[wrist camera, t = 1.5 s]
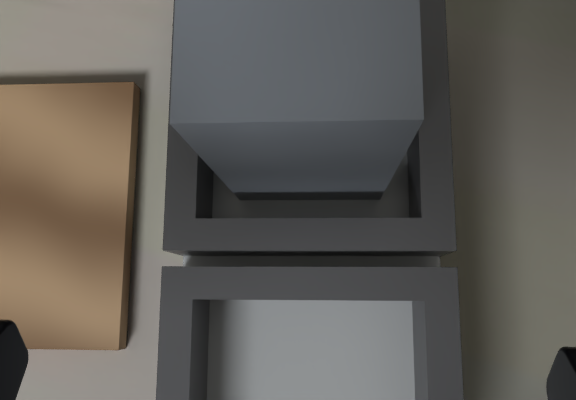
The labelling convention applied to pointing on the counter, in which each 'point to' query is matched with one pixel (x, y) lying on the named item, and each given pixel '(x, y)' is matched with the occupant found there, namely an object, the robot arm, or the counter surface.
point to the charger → (298, 93)
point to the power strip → (316, 276)
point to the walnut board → (67, 211)
